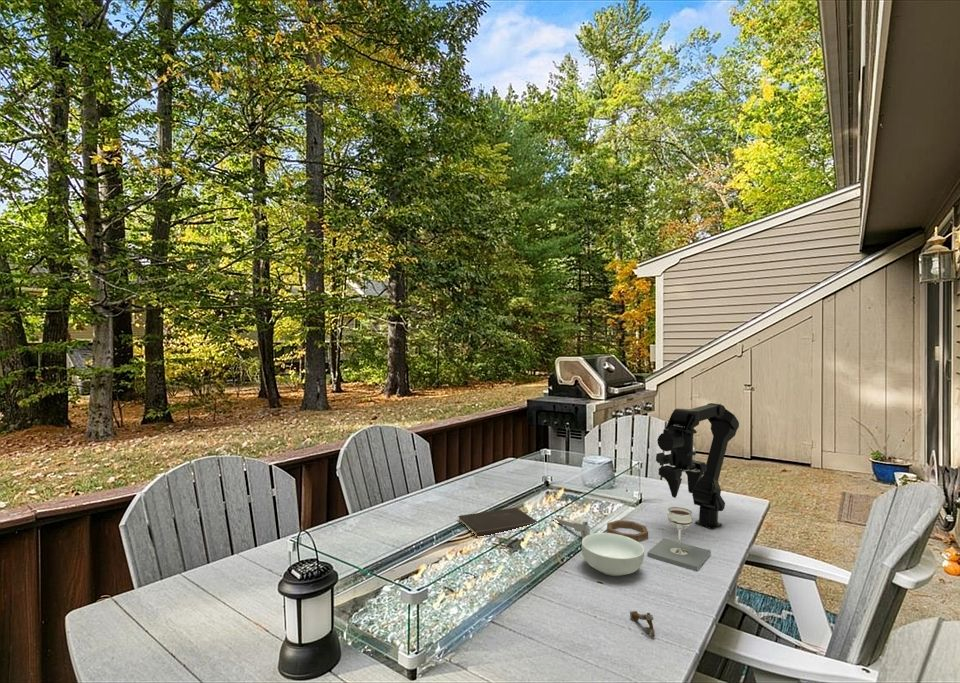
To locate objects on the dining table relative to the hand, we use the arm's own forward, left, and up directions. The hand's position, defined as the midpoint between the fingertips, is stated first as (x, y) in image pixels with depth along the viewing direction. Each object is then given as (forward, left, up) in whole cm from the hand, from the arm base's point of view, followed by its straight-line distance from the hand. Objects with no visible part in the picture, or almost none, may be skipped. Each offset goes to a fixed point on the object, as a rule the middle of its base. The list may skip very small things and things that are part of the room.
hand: (682, 495), depth 163 cm
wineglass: (+15, +9, -12) cm, 21 cm away
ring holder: (+15, -10, -13) cm, 22 cm away
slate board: (+15, +9, -13) cm, 22 cm away
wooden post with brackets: (+55, +26, -13) cm, 62 cm away
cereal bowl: (+39, +4, -13) cm, 41 cm away
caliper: (+29, -22, -14) cm, 39 cm away
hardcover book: (+46, -39, -14) cm, 62 cm away
